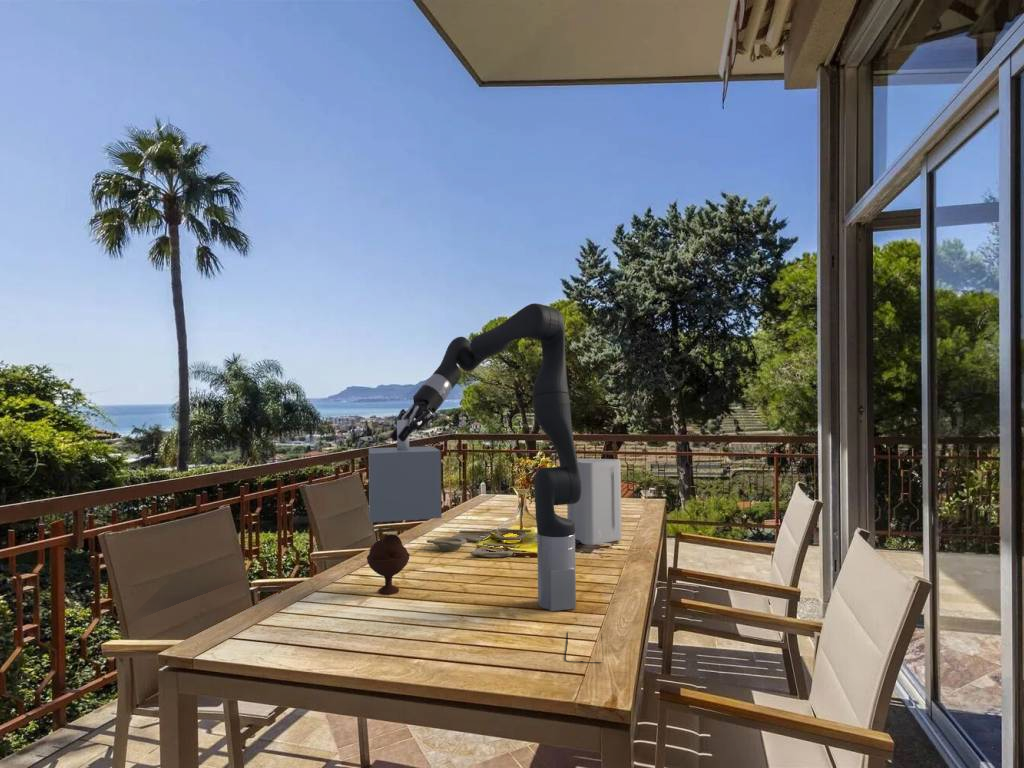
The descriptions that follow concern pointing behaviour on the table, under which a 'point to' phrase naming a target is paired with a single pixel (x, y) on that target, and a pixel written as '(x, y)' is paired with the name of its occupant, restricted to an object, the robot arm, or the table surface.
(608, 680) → the table surface
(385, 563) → the ice cream bowl
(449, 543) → the tableware set
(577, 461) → the robot arm
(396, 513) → the cover
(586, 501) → the grey tall block
